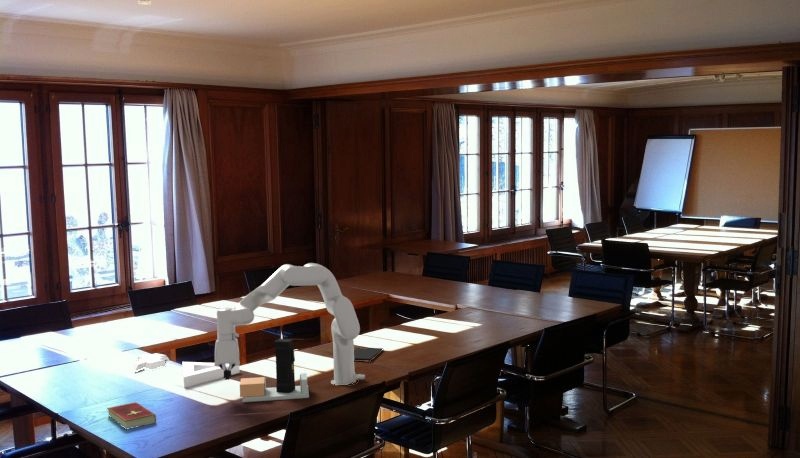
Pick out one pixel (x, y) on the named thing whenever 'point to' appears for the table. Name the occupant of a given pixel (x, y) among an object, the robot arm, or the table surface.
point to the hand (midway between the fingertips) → (227, 379)
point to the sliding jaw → (253, 387)
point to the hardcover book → (132, 415)
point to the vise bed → (274, 395)
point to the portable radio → (285, 365)
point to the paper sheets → (150, 361)
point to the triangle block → (203, 372)
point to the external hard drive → (366, 353)
